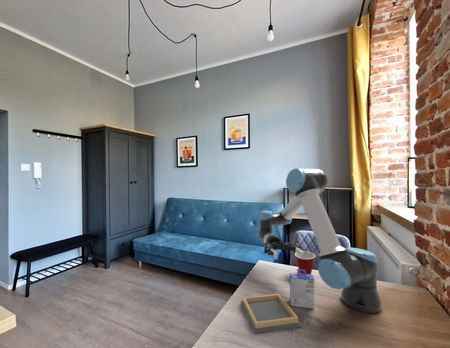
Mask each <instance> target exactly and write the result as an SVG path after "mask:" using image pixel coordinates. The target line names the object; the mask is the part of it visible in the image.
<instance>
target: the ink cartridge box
mask: <svg viewBox="0 0 450 348" xmlns="http://www.w3.org/2000/svg"><path fill="white" fill-rule="evenodd" d="M296 270H297V272H296V273H294V272H292V273H291V272H289V273H290V274H289V291H290V292H289V303H290V304H289V306H291V307H298V308H306V309H315V278H314V276H313V274H311V275H309V274H306V270H304V269H298V268H297V269H296ZM299 271H303V272H305V273H299Z"/></svg>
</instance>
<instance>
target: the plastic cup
mask: <svg viewBox="0 0 450 348" xmlns="http://www.w3.org/2000/svg"><path fill="white" fill-rule="evenodd" d="M302 251H303V252H304V258H302V257H301V256H299V255H298V254H297V253H296V252H294V256H295V258H296V262H297V269H304V270H306V274H309V275H312V271H313V268H314V267H313V266H314V262H315V258H316V254H315V253H314V252H311V251H306V250H302ZM299 273H305V272H303V271H299Z"/></svg>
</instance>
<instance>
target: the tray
mask: <svg viewBox="0 0 450 348" xmlns="http://www.w3.org/2000/svg"><path fill="white" fill-rule="evenodd" d="M240 305H241V307H242V309H243V312H244V313H245V316H246V318H247V321H248V323H249V324H250V327H251V329H252V331H253V333H254V334H261V333H267V332H269V333H270V332H275V331H282V330H290V329H296V328H301V327H302V323H301V321H300V320H299V317H298V316H297V314H296V313H295V312H294V310H293V309H292V308H291V307H290V305H289V304H288V303H287V302H286V301H285V300H284V298H283V297H282V295H280V293H274V294H273V293H272V294H263V295H256V296H244V297H242V300H240Z"/></svg>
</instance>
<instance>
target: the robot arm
mask: <svg viewBox="0 0 450 348" xmlns="http://www.w3.org/2000/svg"><path fill="white" fill-rule="evenodd" d="M328 182H329V180H328V176H327V174H326V173H325V172H324V171H323V170H321V169H319V168H303V167H299V168H293V169H291V170H290V171H289V172H288V174H287V176H286V179H285V184H286V185H285V186H286V188H287V189H288V191H289V192H291V193H293V194H294V195H295V196H294V197H293V198H292V199H291V200H290V201H289V202H288V203H287V204H286V205H285V207H283V209H281V210H280V211H279V212H276V213H273V211H271V210H261V211H260V215H259V230H258V232H257V237H258V239H259V240H260V242H262V243H263V244H264V248H263V254H265V255H266V254H267V255H268V256H271V257H273V258H274V259H275V260H279V259H278V258H279V254H278V252H276V251H277V250H283V251H285V250H286V251H291V252H294V253H297V254H298V255H299V256H301V257H302V258H304V252H303V251H304V250H302V246H301V245H297V244H294V243H291V242H289V241H285V242H282V241H281V239H280V238H279V237H278V236H276V235H275V234H274V233H273V227H275V226H282V225H283V226H284V225H289V224H291V223H292V221H293V218H294V216H295V215H297V214H298V213H299V212H300V211H301V210H302V209H303V210H304V212H305V215H306V218H307V220H308V222H309V225H310V227H311V230H312V232H313V235H314V237H315V240H316V243H317V246H318V248H319V250H320V252H319V255H318V258H319V260H320V261H319V263H318V264H317V265H318V266H317V272H318V274H319V276H320V279H322V281H323V283H325V284H326V285H328V287H330V288H331V289H335V290H341V292H340V299H341V301H342V303H343V304H345V305H346V306H348V307H349V308H351V309H353V310H355V311H358V312H361V313H366V314H377V313H380V312H381V311H382V309H383V308H382V307H383V306H382V301H381V299H380V295H379V292H378V289H377V288H378V286H377V284H378V257H377V255H376V254H375V253H373V252H372V251H370V250H369V251H368V250H367V249H361V248H357V247H344V246H342V245H341V243H340V241H339V238H338V236H337V234H336V231H335V228H334V227H333V224H332V221H331V219H330V217H329V215H328V212H327V211H326V209H325V208H326V207H325V206H324V204H323V201H322V199H321V197H320V195H321V194H322V193H324V191H325V190H326V188H327V186H328Z"/></svg>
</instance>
